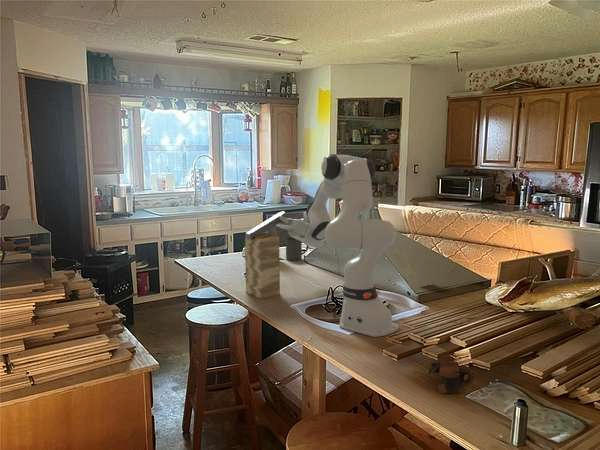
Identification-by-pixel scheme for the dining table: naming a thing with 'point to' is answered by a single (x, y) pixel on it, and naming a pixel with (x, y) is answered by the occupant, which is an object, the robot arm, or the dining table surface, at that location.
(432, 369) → the pottery mug
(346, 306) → the robot arm
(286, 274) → the dining table surface
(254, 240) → the maple stand
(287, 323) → the dining table surface
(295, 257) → the mug
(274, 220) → the steel block
